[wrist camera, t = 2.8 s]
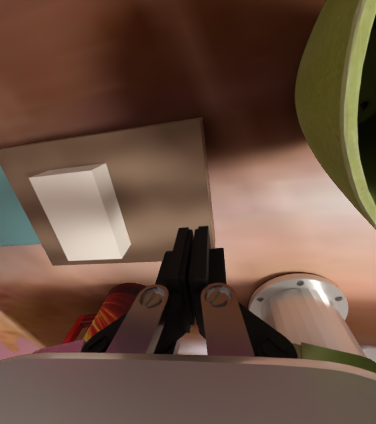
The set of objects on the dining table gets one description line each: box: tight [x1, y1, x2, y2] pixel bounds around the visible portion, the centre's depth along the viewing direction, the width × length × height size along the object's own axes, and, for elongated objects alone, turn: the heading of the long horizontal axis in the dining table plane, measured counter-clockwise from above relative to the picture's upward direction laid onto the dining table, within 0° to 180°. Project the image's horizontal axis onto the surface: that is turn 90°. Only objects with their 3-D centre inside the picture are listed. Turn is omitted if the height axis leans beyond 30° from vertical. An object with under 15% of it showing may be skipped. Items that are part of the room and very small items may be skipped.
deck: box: [0, 117, 215, 265], centre depth 23 cm, size 14×20×4 cm
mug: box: [62, 283, 146, 344], centre depth 29 cm, size 10×14×12 cm
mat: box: [0, 166, 41, 246], centre depth 28 cm, size 12×12×1 cm
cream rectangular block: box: [29, 163, 131, 261], centre depth 21 cm, size 9×6×2 cm, turn 8°
